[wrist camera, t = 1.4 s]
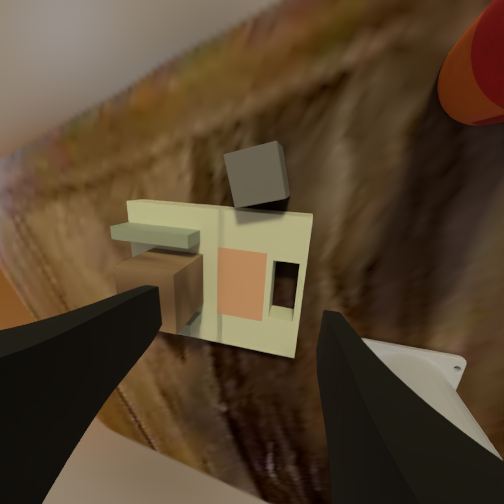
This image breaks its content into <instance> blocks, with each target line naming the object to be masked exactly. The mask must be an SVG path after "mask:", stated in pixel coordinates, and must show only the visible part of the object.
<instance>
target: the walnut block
mask: <svg viewBox="0 0 504 504" xmlns="http://www.w3.org/2000/svg"><path fill="white" fill-rule="evenodd" d="M113 267H114V275H115V282H116V290H117V294H120V293H123V292H125V291H128V290H131V289H134V288H137V287H140V286H144V285H151V286H158V287H159V296H160V306H161V316H162V326H161V328H160V330H159V331H162V332H167V333H172V334H177V333H178V332H179V331H180V330H181V329H182V327H183V326H184V325H185V324H186V323H187V322H188V321H189V319H190V318H191V317H192V316H193V315H194V314H195V312H196V311H197V310H198V309H199V308H200V307H201V306H202V304H203V303H204V299H203V254H197V253H190V252H182V251H175V250H167V249H159V248H152V249H150V250H148V251H146V252H143V253H141V254H139V255H136V256H134V257H132V258H130V259H127V260H125V261H123V262H120V263H118V264H116V265H113Z"/></svg>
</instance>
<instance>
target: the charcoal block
mask: <svg viewBox="0 0 504 504" xmlns="http://www.w3.org/2000/svg"><path fill="white" fill-rule="evenodd" d="M224 159H225V163H226V168H227V173H228V177H229V182H230V187H231V192H232V196H233V201H234V206H235V208H239V207H245V206H250V205H255V204H260V203H266V202H271V201H276V200H281V199H286V198H287V197H289V196H290V190H289V184H288V178H287V171H286V165H285V158H284V152H283V147H282V146H281V145H280V144H279V143H278V142H277V141H274V142H270V143H266V144H262V145H258V146H254V147H251V148H247V149H243V150H239V151H235V152H231V153H227V154H224Z"/></svg>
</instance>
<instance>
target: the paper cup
mask: <svg viewBox="0 0 504 504" xmlns="http://www.w3.org/2000/svg"><path fill="white" fill-rule="evenodd" d="M437 90H438V98H439V101H440V104H441V106H442V108H443V109H444V111H445V112H446V113H447V114H448V115H449V116H450V117H451V118H452V119H454V120H456V121H457V122H460V123H463V124H466V125H474V126H482V125H490V124H497V123H502V122H504V0H493V1H492V2H491V4H490V5H489V6H488V7H487V8H486V9H485V10H484V11H483V12H482V14H481V15H480V16H479V17H478V18H477V19H476V20H475V21H474V22H473V24H472V25H471V26H470V27H469V28H468V29H467V31H466V32H465V33H464V34H463V35H462V36H461V38H460V39H459V40H458V41H457V42H456V44H455V45H454V46H453V48H452V49H451V50H450V52H449V54H448V55H447V57H446V59H445V61H444V63H443V65H442V67H441V70H440V73H439V78H438V85H437Z"/></svg>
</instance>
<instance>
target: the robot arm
mask: <svg viewBox="0 0 504 504" xmlns="http://www.w3.org/2000/svg"><path fill="white" fill-rule="evenodd" d="M161 326H162V316H161V306H160V296H159V287H158V286H151V285H144V286H140V287H137V288H134V289H131V290H128V291H125V292H123V293H120V294H117V295H114V296H112V297H109V298H106V299H104V300H101V301H98V302H96V303H93V304H90V305H87V306H84V307H81V308H78V309H76V310H73V311H70V312H67V313H64V314H61V315H57V316H54V317H51V318H47V319H44V320H40V321H37V322H33V323H29V324H26V325H22V326H17V327H13V328H9V329H4V330H0V504H42V503H43V501H44V499H45V497H46V496H47V494H48V492H49V490H50V489H51V487H52V485H53V484H54V482H55V480H56V479H57V477H58V475H59V474H60V472H61V470H62V468H63V467H64V465H65V463H66V462H67V460H68V458H69V457H70V455H71V454H72V452H73V450H74V449H75V447H76V446H77V444H78V442H79V441H80V439H81V438H82V436H83V435H84V433H85V431H86V430H87V428H88V427H89V425H90V424H91V422H92V420H93V419H94V418H95V416H96V415H97V413H98V412H99V410H100V409H101V407H102V406H103V404H104V403H105V401H106V400H107V399H108V397H109V396H110V395H111V393H112V392H113V391H114V389H115V388H116V387H117V386H118V384H119V383H120V382H121V381H122V379H123V378H124V377H125V376H126V375H127V373H128V372H129V371H130V370H131V368H132V367H133V366H134V365H135V363H136V362H137V361H138V360H139V358H140V357H141V356H142V355H143V353H144V352H145V351H146V350H147V348H148V347H149V346H150V344H151V343H152V341H153V340H154V338H155V336H156V335H157V333H158V331H159V330H160V328H161ZM316 353H317V376H318V383H319V390H320V397H321V403H322V410H323V416H324V423H325V429H326V436H327V444H328V453H329V467H330V482H331V499H332V504H504V461H503V460H502V458H501V457H500V455H499V454H498V452H497V451H496V449H495V448H494V446H493V445H492V444H491V442H490V441H489V439H488V438H487V436H486V435H485V433H484V432H483V430H482V429H481V428H480V426H479V425H478V423H477V422H476V420H475V419H474V417H473V416H472V414H471V413H470V411H469V410H468V409H467V407H466V406H465V404H464V403H463V401H462V400H461V398H460V397H459V395H458V394H457V393H456V389H457V386H458V384H459V381H460V379H461V376H462V374H463V372H464V369H465V367H466V361H465V359H464V358H463V357H461V356H459V355H453V354H448V353H442V352H437V351H431V350H426V349H420V348H415V347H409V346H404V345H398V344H393V343H387V342H382V341H376V340H371V339H365V338H360V336H359V335H358V334H357V333H356V332H355V330H354V329H353V328H352V327H351V326H350V324H349V323H348V322H347V321H346V319H345V318H344V317H343V316H342V314H341V313H340V312H335V311H328V310H324V312H323V317H322V323H321V328H320V334H319V339H318V345H317V350H316ZM455 366H458V367H457V368H454V367H455Z"/></svg>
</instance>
